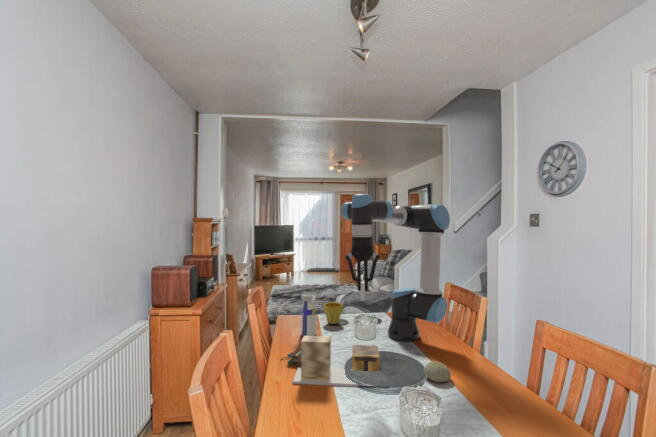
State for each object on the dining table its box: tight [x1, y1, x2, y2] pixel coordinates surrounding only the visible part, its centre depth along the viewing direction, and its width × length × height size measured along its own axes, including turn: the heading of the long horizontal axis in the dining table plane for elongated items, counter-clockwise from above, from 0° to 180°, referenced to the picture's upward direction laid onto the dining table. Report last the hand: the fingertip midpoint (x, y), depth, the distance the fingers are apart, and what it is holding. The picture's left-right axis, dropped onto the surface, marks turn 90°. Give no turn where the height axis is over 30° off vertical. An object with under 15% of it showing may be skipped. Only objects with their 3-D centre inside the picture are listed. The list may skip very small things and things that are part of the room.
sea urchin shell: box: [423, 360, 452, 383], centre depth 119 cm, size 9×8×8 cm
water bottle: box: [300, 284, 318, 337], centre depth 166 cm, size 8×8×25 cm
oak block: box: [300, 335, 332, 379], centre depth 120 cm, size 10×6×13 cm, turn 85°
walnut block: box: [351, 344, 381, 371], centre depth 128 cm, size 10×6×13 cm
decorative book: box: [279, 346, 301, 369], centre depth 133 cm, size 13×18×5 cm
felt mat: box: [292, 367, 359, 387], centre depth 119 cm, size 33×11×1 cm, turn 85°
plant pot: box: [323, 301, 344, 325], centre depth 185 cm, size 10×10×10 cm
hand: (362, 299), depth 123 cm, fingers closed
